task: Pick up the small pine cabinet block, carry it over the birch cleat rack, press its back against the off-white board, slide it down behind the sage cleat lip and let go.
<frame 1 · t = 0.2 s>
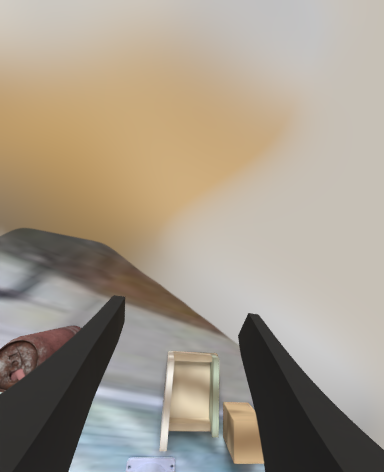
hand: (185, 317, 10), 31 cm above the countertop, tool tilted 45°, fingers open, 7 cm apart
cleat rack: (190, 385, 35), on the countertop
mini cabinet: (236, 419, 34), on the countertop
can: (71, 343, 35), on the countertop
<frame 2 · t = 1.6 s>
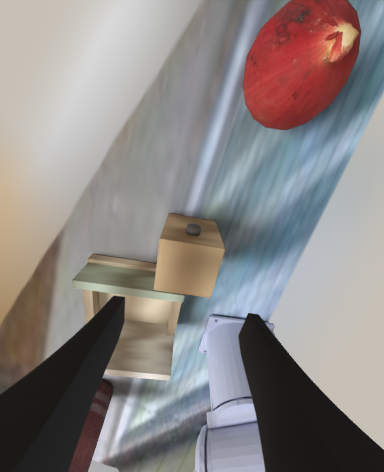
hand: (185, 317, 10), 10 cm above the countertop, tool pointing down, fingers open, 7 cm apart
cleat rack: (138, 293, 23), on the countertop
onion: (267, 91, 14), on the countertop
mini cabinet: (188, 237, 20), on the countertop
can: (98, 384, 33), on the countertop
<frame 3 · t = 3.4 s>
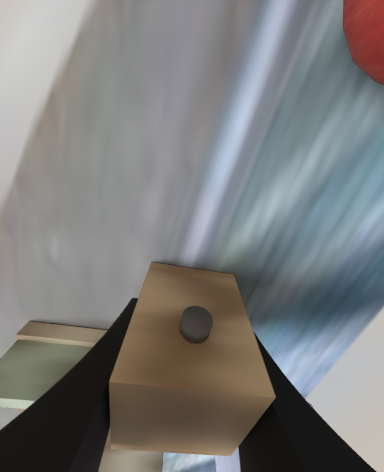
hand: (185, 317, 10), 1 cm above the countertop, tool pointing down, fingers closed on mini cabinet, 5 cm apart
cleat rack: (109, 369, 15), on the countertop
onion: (366, 17, 6), on the countertop
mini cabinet: (186, 299, 12), on the countertop, touching gripper
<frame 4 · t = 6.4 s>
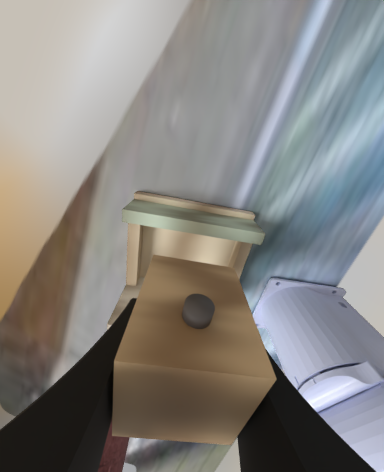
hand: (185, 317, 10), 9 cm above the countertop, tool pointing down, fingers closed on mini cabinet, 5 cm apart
cleat rack: (187, 247, 19), on the countertop
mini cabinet: (187, 292, 12), point 8 cm above the countertop, touching gripper
can: (125, 368, 29), on the countertop
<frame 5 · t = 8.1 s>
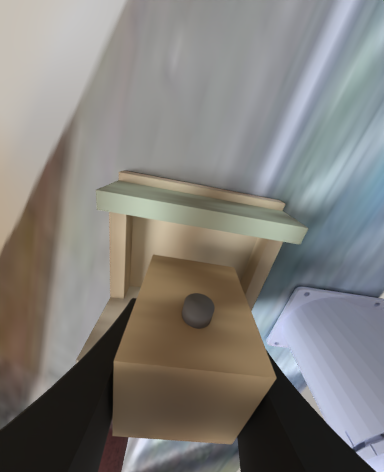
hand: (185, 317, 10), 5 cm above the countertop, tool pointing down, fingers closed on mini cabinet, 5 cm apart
cleat rack: (191, 247, 15), on the countertop
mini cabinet: (187, 292, 12), point 4 cm above the countertop, touching gripper
can: (116, 390, 24), on the countertop
when the fingers open (3 cm above the countertop, at t = 9.4 s): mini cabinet stays where it is, resting on cleat rack.
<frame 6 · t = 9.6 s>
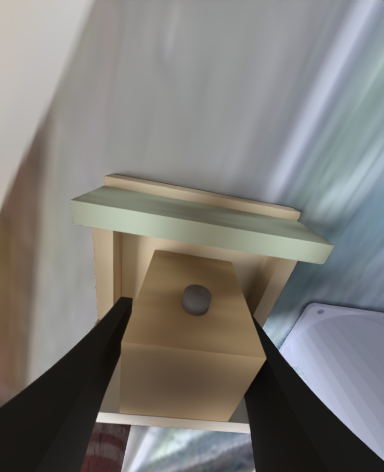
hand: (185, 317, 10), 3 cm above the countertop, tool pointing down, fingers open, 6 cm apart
cleat rack: (190, 260, 13), on the countertop
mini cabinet: (187, 285, 13), point 1 cm above the countertop, touching cleat rack
can: (110, 408, 23), on the countertop
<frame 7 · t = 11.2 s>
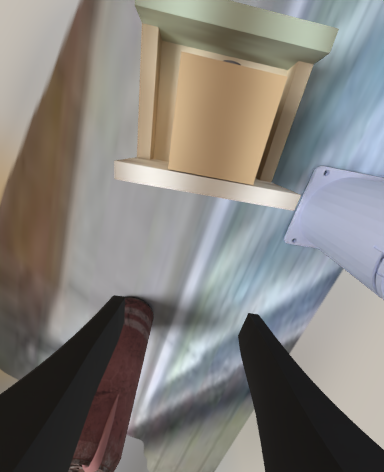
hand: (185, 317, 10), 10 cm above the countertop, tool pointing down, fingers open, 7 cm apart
cleat rack: (213, 116, 15), on the countertop
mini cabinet: (211, 135, 15), point 1 cm above the countertop, touching cleat rack
can: (133, 309, 25), on the countertop
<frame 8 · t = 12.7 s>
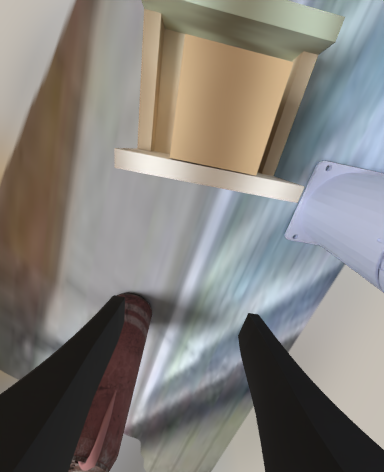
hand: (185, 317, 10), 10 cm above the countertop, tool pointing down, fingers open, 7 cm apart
cleat rack: (215, 109, 15), on the countertop
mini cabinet: (213, 127, 14), point 1 cm above the countertop, touching cleat rack
can: (131, 306, 25), on the countertop
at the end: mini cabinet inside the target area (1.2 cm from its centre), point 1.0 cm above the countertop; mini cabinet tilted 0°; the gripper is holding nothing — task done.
